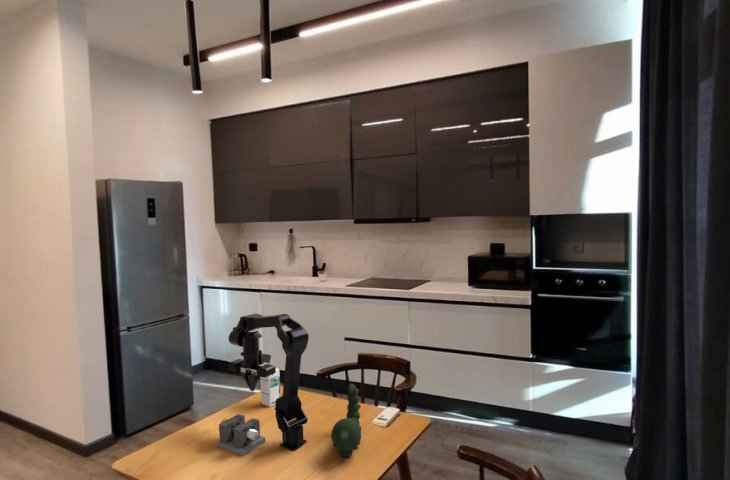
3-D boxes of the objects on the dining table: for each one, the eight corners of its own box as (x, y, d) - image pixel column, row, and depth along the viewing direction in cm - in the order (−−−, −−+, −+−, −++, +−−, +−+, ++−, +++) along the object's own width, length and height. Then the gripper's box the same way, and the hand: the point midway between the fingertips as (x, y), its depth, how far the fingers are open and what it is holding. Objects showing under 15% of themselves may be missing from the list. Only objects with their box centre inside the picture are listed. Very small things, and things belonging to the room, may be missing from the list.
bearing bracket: (265, 441, 145) (264, 420, 145) (243, 455, 137) (242, 432, 136) (240, 433, 151) (239, 413, 151) (217, 446, 143) (216, 424, 142)
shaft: (261, 439, 143) (261, 425, 142) (250, 446, 138) (250, 431, 138) (230, 430, 150) (229, 416, 150) (219, 436, 146) (218, 422, 145)
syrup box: (270, 407, 173) (269, 372, 172) (260, 404, 176) (259, 369, 176) (281, 402, 177) (279, 368, 177) (271, 399, 181) (270, 365, 181)
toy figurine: (341, 433, 153) (326, 466, 128) (341, 379, 154) (326, 402, 129) (367, 434, 152) (357, 467, 127) (366, 380, 153) (356, 402, 128)
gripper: (285, 346, 159) (286, 387, 159) (248, 340, 168) (250, 379, 169) (264, 354, 149) (265, 398, 150) (226, 348, 158) (228, 389, 159)
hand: (252, 390), depth 157 cm, fingers closed
